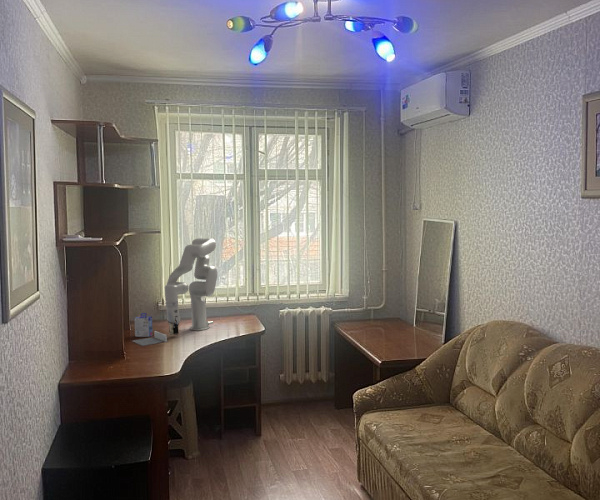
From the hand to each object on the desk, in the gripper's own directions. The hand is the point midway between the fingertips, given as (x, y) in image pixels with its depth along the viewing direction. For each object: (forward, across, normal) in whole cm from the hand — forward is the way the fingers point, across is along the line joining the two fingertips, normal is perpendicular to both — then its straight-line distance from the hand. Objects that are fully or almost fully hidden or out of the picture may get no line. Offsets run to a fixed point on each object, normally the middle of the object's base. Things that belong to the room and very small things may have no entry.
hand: (173, 332), depth 369 cm
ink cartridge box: (+3, +17, +13) cm, 21 cm away
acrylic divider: (+3, 0, +9) cm, 10 cm away
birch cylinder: (+1, 0, 0) cm, 1 cm away
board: (+2, 0, +18) cm, 18 cm away
